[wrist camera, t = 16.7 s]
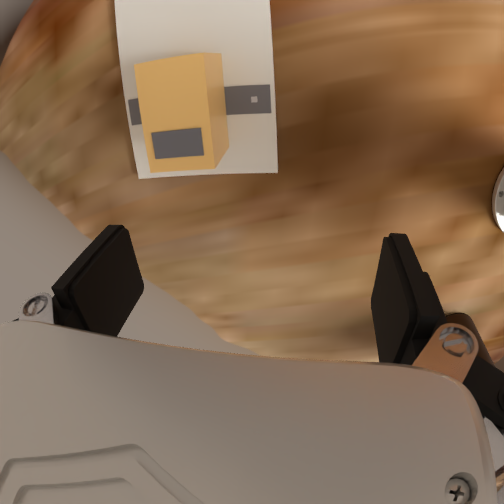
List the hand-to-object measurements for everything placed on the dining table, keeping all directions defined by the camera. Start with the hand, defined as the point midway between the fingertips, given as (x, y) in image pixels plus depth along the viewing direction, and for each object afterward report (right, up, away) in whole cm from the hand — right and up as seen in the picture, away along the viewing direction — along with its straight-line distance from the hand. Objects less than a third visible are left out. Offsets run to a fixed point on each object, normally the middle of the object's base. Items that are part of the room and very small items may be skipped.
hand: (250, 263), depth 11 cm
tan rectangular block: (-6, +15, +19) cm, 25 cm away
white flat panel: (-6, +21, +16) cm, 27 cm away
